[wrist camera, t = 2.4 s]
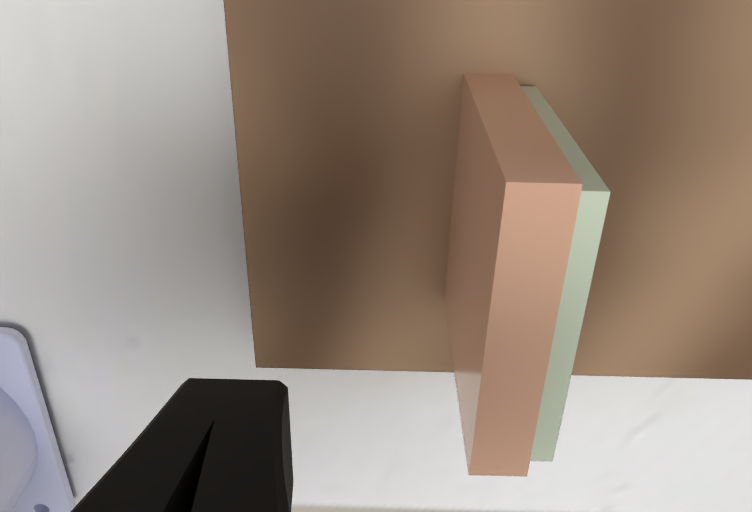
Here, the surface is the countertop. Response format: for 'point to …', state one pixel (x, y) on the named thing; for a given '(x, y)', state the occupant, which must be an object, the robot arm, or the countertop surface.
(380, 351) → the board
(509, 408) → the tile
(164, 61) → the countertop surface
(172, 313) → the countertop surface
